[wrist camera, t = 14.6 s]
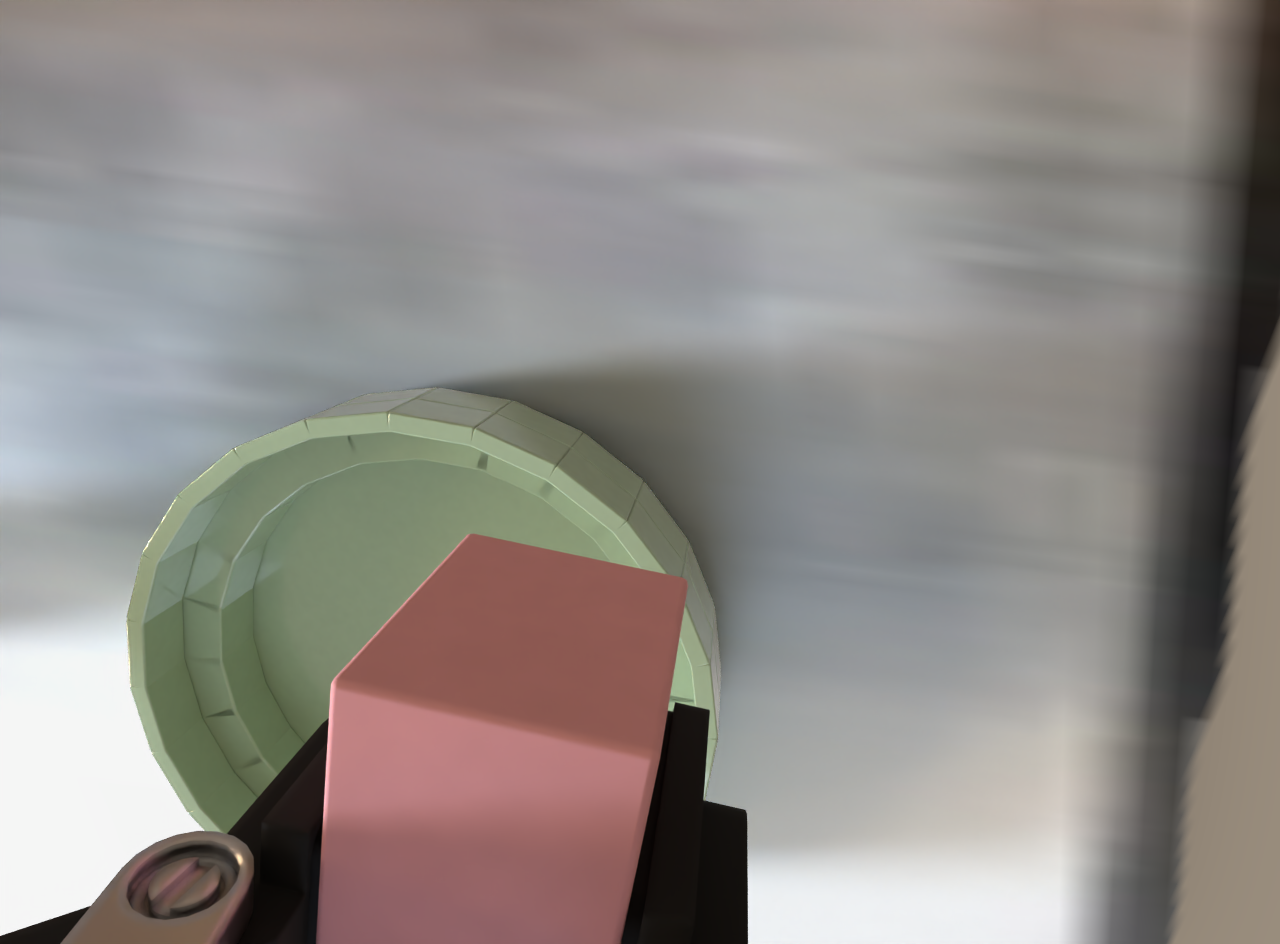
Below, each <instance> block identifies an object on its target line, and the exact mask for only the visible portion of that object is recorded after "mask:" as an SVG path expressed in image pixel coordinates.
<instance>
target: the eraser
mask: <svg viewBox="0 0 1280 944" xmlns="http://www.w3.org/2000/svg"><path fill="white" fill-rule="evenodd" d="M687 589H688V583H687V580H686V579H684V578H682V577H678V576H673V575H668V574H663V573H659V572H654V571H649V570H644V569H640V568H635V567H630V566H625V565H621V564H616V563H611V562H606V561H602V560H597V559H592V558H587V557H583V556H578V555H573V554H568V553H564V552H559V551H554V550H549V549H545V548H540V547H535V546H530V545H526V544H521V543H516V542H511V541H507V540H502V539H497V538H493V537H488V536H483V535H478V534H468V535H467V536H466V537H465V538H464V539H463V540H462V541H461V542H460V543H459V544H458V545H457V547H456V548H455V549H454V550H453V551H452V552H451V553H450V554H449V555H448V556H447V557H446V558H445V559H444V561H443V562H442V563H441V564H440V565H439V566H438V567H437V568H436V569H435V570H434V571H433V572H432V573H431V575H430V576H429V577H428V578H427V579H426V580H425V581H424V582H423V583H422V584H421V585H420V586H419V587H418V589H417V590H416V591H415V592H414V593H413V594H412V595H411V596H410V597H409V598H408V599H407V600H406V601H405V603H404V604H403V605H402V606H401V607H400V608H399V609H398V610H397V611H396V612H395V613H394V614H393V615H392V617H391V618H390V619H389V620H388V621H387V622H386V623H385V624H384V625H383V626H382V627H381V628H380V629H379V631H378V632H377V633H376V634H375V635H374V636H373V637H372V638H371V639H370V640H369V641H368V642H367V643H366V645H365V646H364V647H363V648H362V649H361V650H360V651H359V652H358V653H357V654H356V655H355V656H354V657H353V659H352V660H351V661H350V662H349V663H348V664H347V665H346V666H345V667H344V668H343V669H342V670H341V671H340V673H339V674H338V675H337V676H336V677H335V678H334V680H333V682H332V683H331V691H330V709H329V726H328V743H327V760H326V778H325V795H324V812H323V829H322V846H321V864H320V881H319V898H318V915H317V933H316V944H621V940H622V936H623V931H624V926H625V921H626V917H627V912H628V907H629V903H630V898H631V893H632V888H633V884H634V879H635V874H636V869H637V865H638V860H639V855H640V851H641V846H642V841H643V836H644V832H645V827H646V822H647V817H648V813H649V808H650V803H651V799H652V794H653V789H654V784H655V780H656V775H657V770H658V765H659V761H660V755H661V749H662V743H663V737H664V731H665V725H666V718H667V712H668V706H669V700H670V694H671V687H672V681H673V675H674V669H675V663H676V657H677V650H678V644H679V638H680V632H681V626H682V620H683V613H684V607H685V601H686V595H687Z"/></svg>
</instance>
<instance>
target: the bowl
mask: <svg viewBox="0 0 1280 944" xmlns="http://www.w3.org/2000/svg"><path fill="white" fill-rule="evenodd" d="M468 534H478V535H483V536H488V537H493V538H497V539H502V540H507V541H511V542H516V543H521V544H526V545H530V546H535V547H540V548H545V549H549V550H554V551H559V552H564V553H568V554H573V555H578V556H583V557H587V558H592V559H597V560H602V561H606V562H611V563H616V564H621V565H625V566H630V567H635V568H640V569H644V570H649V571H654V572H659V573H663V574H668V575H673V576H678V577H682V578H684V579H686V580H687V583H688V589H687V595H686V601H685V607H684V613H683V620H682V626H681V632H680V638H679V644H678V650H677V657H676V663H675V669H674V675H673V681H672V687H671V694H670V700H669V706H668V711H673V709H674V705H675V702H677V703H681V704H686V705H690V706H695V707H699V708H704V709H709V710H710V717H709V731H708V745H707V759H706V773H705V786H704V801H705V800H706V795H707V790H708V785H709V780H710V775H711V771H712V766H713V761H714V756H715V751H716V747H717V742H718V729H719V709H720V687H721V663H720V653H719V643H718V632H717V622H716V612H715V608H714V603H713V600H712V598H711V595H710V593H709V590H708V588H707V585H706V582H705V580H704V577H703V575H702V572H701V570H700V567H699V565H698V562H697V560H696V557H695V555H694V552H693V550H692V547H691V545H690V542H689V541H688V539H687V538H686V536H685V535H684V534H683V532H682V531H681V530H680V528H679V527H678V526H677V524H676V523H675V521H674V520H673V519H672V517H671V516H670V515H669V513H668V512H667V511H666V509H665V508H664V507H663V505H662V504H661V503H660V501H659V500H658V499H657V497H656V496H655V495H654V493H653V492H652V491H651V489H650V488H649V487H648V485H647V484H646V483H645V482H643V479H641V478H640V477H639V476H638V475H636V474H635V473H634V472H633V471H631V470H630V469H629V468H628V467H626V466H625V465H624V464H623V463H621V462H620V461H619V460H618V459H616V458H615V457H614V456H613V455H611V454H610V453H609V452H608V451H606V450H605V449H604V448H603V447H601V446H600V445H599V444H598V443H597V442H595V441H594V440H593V439H592V438H590V437H589V436H588V435H587V434H585V433H583V432H582V431H580V430H578V429H576V428H573V427H571V426H569V425H567V424H565V423H562V422H560V421H558V420H556V419H554V418H551V417H549V416H547V415H545V414H543V413H540V412H538V411H536V410H534V409H532V408H529V407H527V406H525V405H523V404H521V403H518V402H516V401H511V400H508V399H502V398H497V397H491V396H485V395H479V394H474V393H468V392H462V391H456V390H451V389H445V388H435V387H434V388H423V389H413V390H402V391H392V392H382V393H371V394H366V395H362V396H359V397H357V398H354V399H352V400H349V401H347V402H344V403H342V404H339V405H337V406H334V407H332V408H329V409H327V410H324V411H322V412H319V413H317V414H314V415H312V416H309V417H307V418H304V419H302V420H300V421H297V422H295V423H292V424H290V425H287V426H285V427H283V428H280V429H278V430H275V431H273V432H270V433H268V434H266V435H263V436H261V437H258V438H256V439H253V440H251V441H249V442H246V443H244V444H241V445H239V446H237V447H235V448H233V449H232V450H230V451H229V452H228V453H227V454H226V455H224V456H223V457H222V458H221V459H220V460H218V461H217V462H216V463H215V464H214V465H212V466H211V467H210V468H209V469H208V470H206V471H205V472H204V473H203V474H202V475H200V476H199V477H198V478H197V479H196V480H194V481H193V482H192V483H191V484H190V485H188V486H187V487H186V488H185V489H184V490H182V491H181V492H180V493H179V495H177V497H176V498H175V500H174V502H173V503H172V505H171V506H170V508H169V510H168V511H167V513H166V515H165V516H164V518H163V519H162V521H161V523H160V524H159V526H158V528H157V529H156V531H155V532H154V534H153V536H152V537H151V539H150V541H149V542H148V544H147V546H146V547H145V549H144V550H143V552H142V553H143V554H142V556H141V560H140V564H139V568H138V572H137V577H136V581H135V585H134V589H133V593H132V597H131V602H130V606H129V610H128V614H127V621H126V622H127V640H128V658H129V677H130V686H131V687H130V689H131V692H132V695H133V698H134V701H135V704H136V707H137V710H138V713H139V716H140V720H141V723H142V726H143V729H144V732H145V735H146V738H147V741H148V744H149V747H150V750H151V752H152V755H153V756H154V758H155V760H156V761H157V763H158V765H159V766H160V768H161V770H162V771H163V773H164V774H165V776H166V778H167V779H168V781H169V783H170V784H171V786H172V788H173V789H174V791H175V793H176V794H177V796H178V798H179V799H180V801H181V802H182V804H183V806H184V807H185V809H186V811H187V812H189V815H190V816H191V817H192V818H193V819H194V820H195V821H196V822H197V823H198V824H199V825H200V826H201V827H202V828H203V829H204V830H205V831H218V832H221V833H225V834H227V833H228V832H229V830H230V829H231V828H232V827H233V826H234V825H235V823H236V822H237V821H238V820H239V819H240V818H241V817H242V815H243V814H244V813H245V812H246V811H247V810H248V808H249V807H250V806H251V805H252V804H253V803H254V802H255V800H256V799H257V798H258V797H259V796H260V795H261V793H262V792H263V791H264V790H265V789H266V788H267V787H268V785H269V784H270V783H271V782H272V781H273V780H274V778H275V777H276V776H277V775H278V774H279V773H280V772H281V770H282V769H283V768H284V767H285V766H286V765H287V764H288V762H289V761H290V760H291V759H292V758H293V757H294V755H295V754H296V753H297V752H298V751H299V750H300V749H301V747H302V746H303V745H304V744H305V743H306V742H307V740H308V739H309V738H310V737H311V736H312V735H313V734H314V732H315V731H316V730H317V729H318V728H319V727H320V725H321V724H322V723H323V722H324V721H326V720H327V719H328V718H329V709H330V691H331V683H332V682H333V680H334V678H335V677H336V676H337V675H338V674H339V673H340V671H341V670H342V669H343V668H344V667H345V666H346V665H347V664H348V663H349V662H350V661H351V660H352V659H353V657H354V656H355V655H356V654H357V653H358V652H359V651H360V650H361V649H362V648H363V647H364V646H365V645H366V643H367V642H368V641H369V640H370V639H371V638H372V637H373V636H374V635H375V634H376V633H377V632H378V631H379V629H380V628H381V627H382V626H383V625H384V624H385V623H386V622H387V621H388V620H389V619H390V618H391V617H392V615H393V614H394V613H395V612H396V611H397V610H398V609H399V608H400V607H401V606H402V605H403V604H404V603H405V601H406V600H407V599H408V598H409V597H410V596H411V595H412V594H413V593H414V592H415V591H416V590H417V589H418V587H419V586H420V585H421V584H422V583H423V582H424V581H425V580H426V579H427V578H428V577H429V576H430V575H431V573H432V572H433V571H434V570H435V569H436V568H437V567H438V566H439V565H440V564H441V563H442V562H443V561H444V559H445V558H446V557H447V556H448V555H449V554H450V553H451V552H452V551H453V550H454V549H455V548H456V547H457V545H458V544H459V543H460V542H461V541H462V540H463V539H464V538H465V537H466V536H467V535H468Z"/></svg>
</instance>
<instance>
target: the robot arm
mask: <svg viewBox="0 0 1280 944" xmlns="http://www.w3.org/2000/svg"><path fill="white" fill-rule="evenodd" d="M709 717H710V710H709V709H704V708H699V707H695V706H690V705H686V704H681V703H677V702H675V705H674V709H673V711H668V712H667V718H666V725H665V731H664V737H663V743H662V749H661V755H660V761H659V765H658V770H657V775H656V780H655V784H654V789H653V794H652V799H651V803H650V808H649V813H648V817H647V822H646V827H645V832H644V836H643V841H642V846H641V851H640V855H639V860H638V865H637V869H636V874H635V879H634V884H633V888H632V893H631V898H630V903H629V907H628V912H627V917H626V921H625V926H624V931H623V936H622V940H621V944H748V877H747V813H746V810H743V809H739V808H734V807H730V806H726V805H721V804H717V803H713V802H708V801H704V786H705V773H706V759H707V745H708V731H709ZM328 726H329V718H328V719H327V720H326V721H324V722H323V723H322V724H321V725H320V727H319V728H318V729H317V730H316V731H315V732H314V734H313V735H312V736H311V737H310V738H309V739H308V740H307V742H306V743H305V744H304V745H303V746H302V747H301V749H300V750H299V751H298V752H297V753H296V754H295V755H294V757H293V758H292V759H291V760H290V761H289V762H288V764H287V765H286V766H285V767H284V768H283V769H282V770H281V772H280V773H279V774H278V775H277V776H276V777H275V778H274V780H273V781H272V782H271V783H270V784H269V785H268V787H267V788H266V789H265V790H264V791H263V792H262V793H261V795H260V796H259V797H258V798H257V799H256V800H255V802H254V803H253V804H252V805H251V806H250V807H249V808H248V810H247V811H246V812H245V813H244V814H243V815H242V817H241V818H240V819H239V820H238V821H237V822H236V823H235V825H234V826H233V827H232V828H231V829H230V830H229V832H228V833H227V834H225V833H221V832H218V831H195V832H189V833H184V834H178V835H175V836H172V837H169V838H167V839H164V840H161V841H159V842H156V843H154V844H153V845H151V846H149V847H148V848H146V849H144V850H143V851H141V852H139V853H138V854H136V855H135V856H134V857H133V858H132V859H131V860H130V861H129V862H128V863H127V864H126V865H125V866H124V867H123V868H122V869H121V870H120V871H119V872H118V874H117V875H116V876H115V877H114V878H113V880H112V881H111V882H110V883H109V885H108V886H107V887H106V888H105V889H104V891H103V892H102V893H101V894H100V896H99V897H98V898H97V899H96V901H95V902H94V903H93V904H92V905H91V906H89V907H86V908H83V909H80V910H77V911H74V912H71V913H68V914H65V915H62V916H59V917H56V918H53V919H50V920H47V921H44V922H41V923H38V924H35V925H32V926H29V927H26V928H23V929H20V930H17V931H14V932H11V933H8V934H5V935H2V936H0V944H316V933H317V915H318V898H319V881H320V864H321V846H322V829H323V812H324V795H325V778H326V760H327V743H328Z"/></svg>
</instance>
